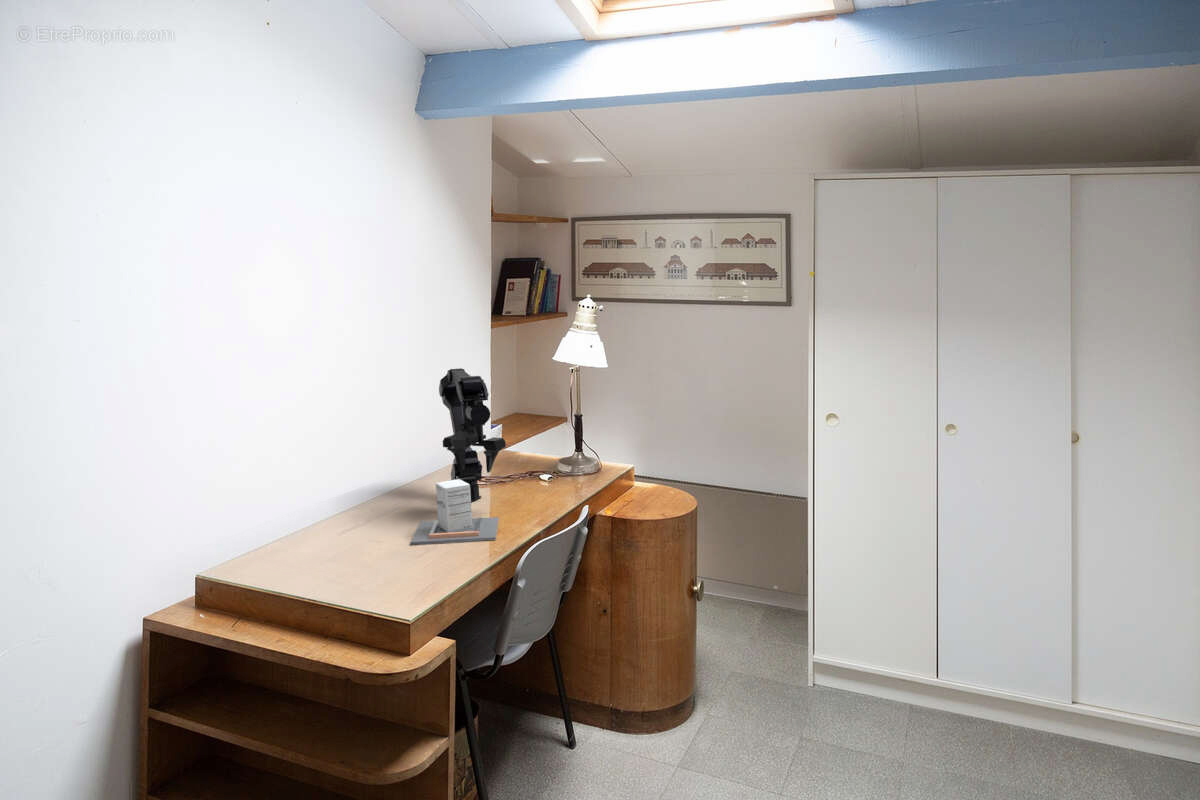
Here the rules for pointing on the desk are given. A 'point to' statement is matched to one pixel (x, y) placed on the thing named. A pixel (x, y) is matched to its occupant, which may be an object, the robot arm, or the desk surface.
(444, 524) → the supplement box
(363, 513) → the desk surface
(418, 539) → the rail stand
